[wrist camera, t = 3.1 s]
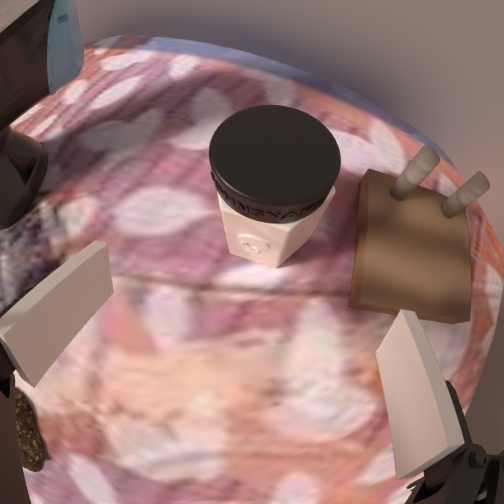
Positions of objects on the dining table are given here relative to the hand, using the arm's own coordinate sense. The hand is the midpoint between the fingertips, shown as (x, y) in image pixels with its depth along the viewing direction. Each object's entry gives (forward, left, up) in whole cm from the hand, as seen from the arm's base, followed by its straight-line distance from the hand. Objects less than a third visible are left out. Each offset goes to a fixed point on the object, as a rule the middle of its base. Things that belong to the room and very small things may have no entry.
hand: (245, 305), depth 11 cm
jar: (-6, +8, -14) cm, 17 cm away
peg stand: (+7, +18, -13) cm, 23 cm away
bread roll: (-8, -35, -14) cm, 39 cm away
